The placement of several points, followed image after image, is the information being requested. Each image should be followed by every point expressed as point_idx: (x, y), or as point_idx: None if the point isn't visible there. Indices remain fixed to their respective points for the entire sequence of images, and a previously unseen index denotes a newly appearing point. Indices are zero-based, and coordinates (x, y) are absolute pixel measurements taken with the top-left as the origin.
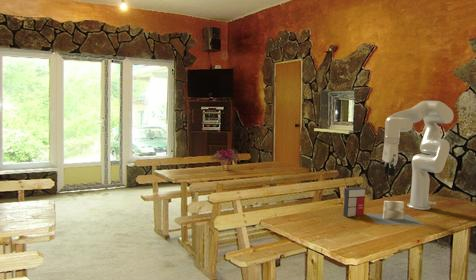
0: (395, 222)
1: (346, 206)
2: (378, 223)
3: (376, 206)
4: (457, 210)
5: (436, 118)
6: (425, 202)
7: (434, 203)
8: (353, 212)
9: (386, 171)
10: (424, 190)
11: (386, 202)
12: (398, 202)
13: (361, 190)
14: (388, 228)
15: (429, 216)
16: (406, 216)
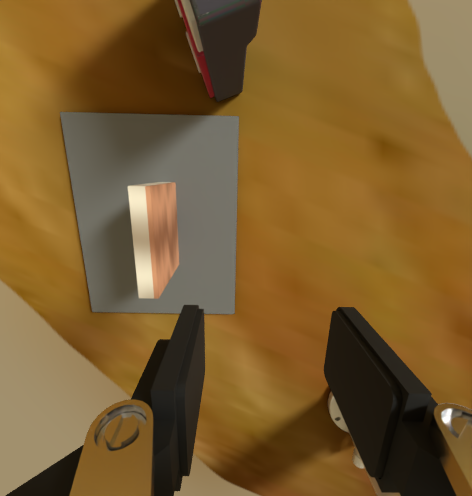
0: (106, 211)
1: None
2: (67, 120)
3: (392, 239)
4: (325, 490)
5: None
6: (349, 433)
7: (355, 458)
8: (181, 14)
9: (343, 348)
10: (376, 486)
11: (131, 195)
12: (136, 266)
13: None
14: (32, 151)
15: (243, 381)
16: (209, 295)
